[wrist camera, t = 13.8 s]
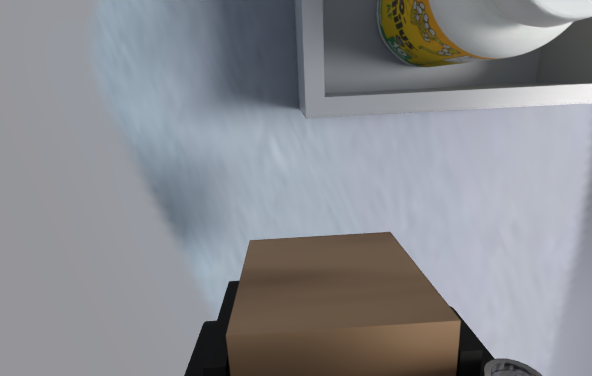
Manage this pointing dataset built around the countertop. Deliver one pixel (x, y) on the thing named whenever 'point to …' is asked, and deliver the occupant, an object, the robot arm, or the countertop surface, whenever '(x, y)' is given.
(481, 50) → the supplement bottle
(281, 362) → the walnut cube
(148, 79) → the countertop surface
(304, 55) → the tote
